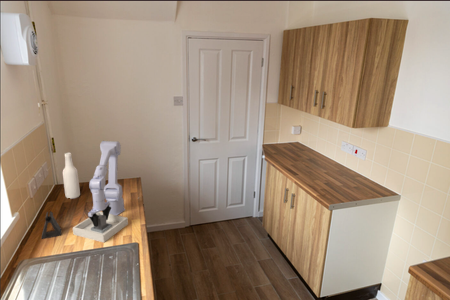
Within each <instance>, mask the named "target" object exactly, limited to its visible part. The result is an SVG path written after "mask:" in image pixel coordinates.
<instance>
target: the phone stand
mask: <svg viewBox="0 0 450 300" xmlns="http://www.w3.org/2000/svg"><path fill="white" fill-rule="evenodd" d="M49 224H50V225H51V226H52V228H53V230H51V231H48V225H49ZM61 236H62V228H61V227H60V225H59V223H58V221H57V220H56V218H55V217H54V213H53V212H52V211H46V214H45V222H44V225H43V230H42V233H41V238H40V239H41V240H44V239H46V240H47V239H51V238H56V237H61Z"/></svg>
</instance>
